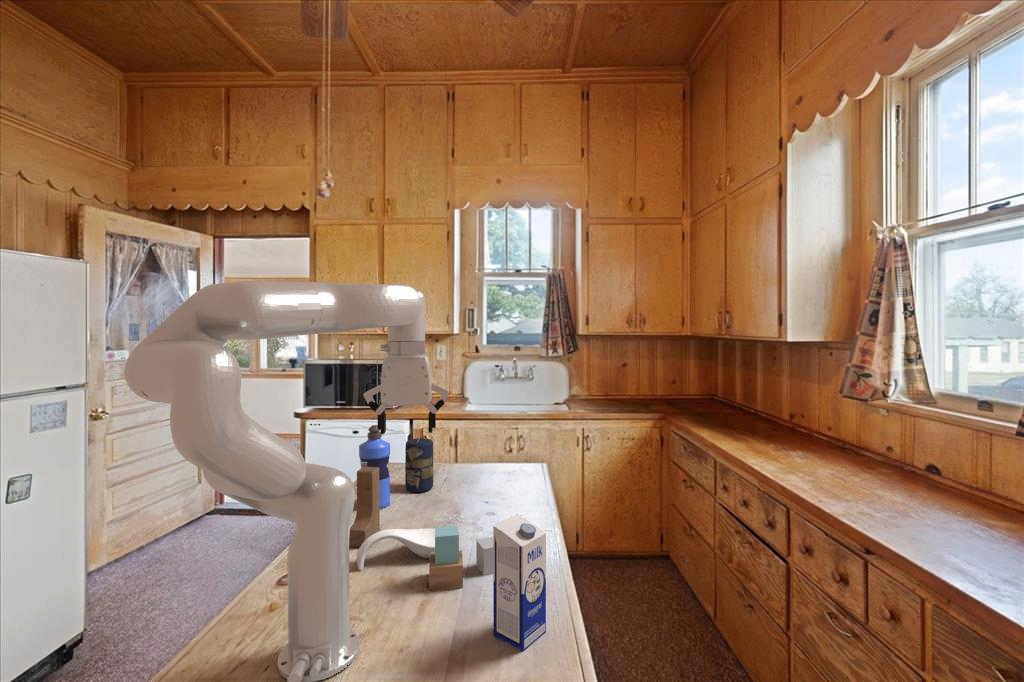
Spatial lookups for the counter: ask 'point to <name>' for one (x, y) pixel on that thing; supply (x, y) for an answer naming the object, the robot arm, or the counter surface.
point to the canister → (419, 465)
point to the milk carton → (519, 581)
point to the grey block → (484, 555)
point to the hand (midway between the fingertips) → (407, 432)
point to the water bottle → (377, 462)
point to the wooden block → (366, 506)
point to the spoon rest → (412, 538)
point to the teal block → (446, 545)
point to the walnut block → (445, 574)
